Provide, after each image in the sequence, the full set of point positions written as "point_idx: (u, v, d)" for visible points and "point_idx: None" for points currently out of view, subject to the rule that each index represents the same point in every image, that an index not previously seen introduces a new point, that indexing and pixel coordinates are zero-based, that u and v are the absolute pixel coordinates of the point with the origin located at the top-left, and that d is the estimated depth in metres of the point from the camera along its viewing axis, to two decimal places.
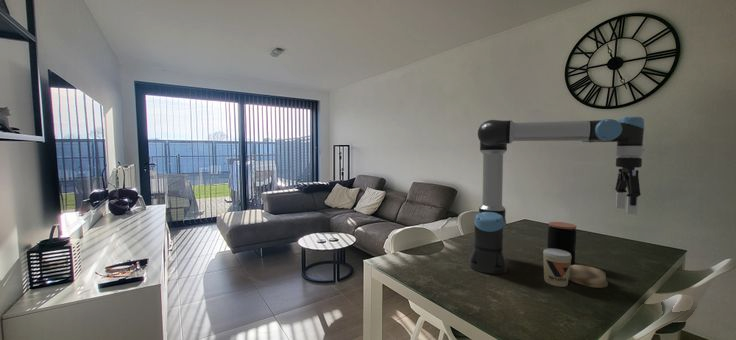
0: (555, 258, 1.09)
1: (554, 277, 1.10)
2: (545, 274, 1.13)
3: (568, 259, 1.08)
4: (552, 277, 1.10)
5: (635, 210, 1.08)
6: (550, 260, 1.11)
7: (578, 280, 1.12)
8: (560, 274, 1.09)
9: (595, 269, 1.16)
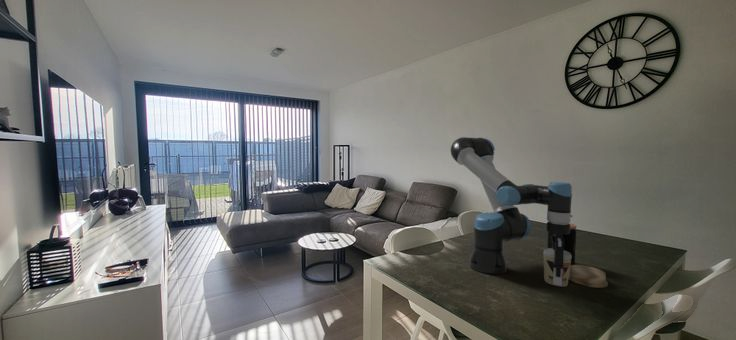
0: None
1: None
2: (545, 274, 1.13)
3: (568, 259, 1.08)
4: (552, 277, 1.10)
5: (560, 281, 1.08)
6: (550, 260, 1.11)
7: (578, 280, 1.12)
8: None
9: (595, 269, 1.16)
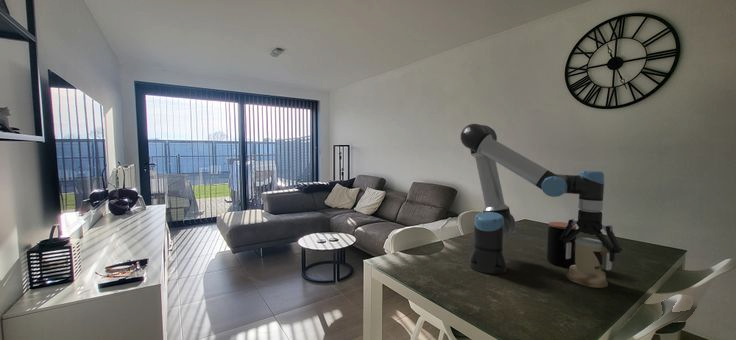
0: (602, 248, 1.10)
1: (599, 266, 1.11)
2: (589, 266, 1.11)
3: None
4: (598, 267, 1.10)
5: (611, 265, 1.09)
6: (597, 250, 1.10)
7: (578, 280, 1.12)
8: (601, 261, 1.11)
9: None
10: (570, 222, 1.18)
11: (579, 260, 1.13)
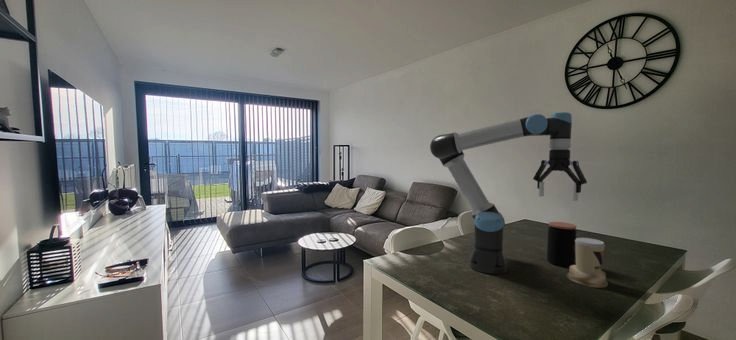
0: (602, 248, 1.10)
1: (599, 266, 1.11)
2: (589, 266, 1.11)
3: None
4: (598, 267, 1.10)
5: (577, 196, 1.20)
6: (597, 250, 1.10)
7: (578, 280, 1.12)
8: (601, 261, 1.11)
9: None
10: (542, 162, 1.30)
11: (579, 260, 1.13)
